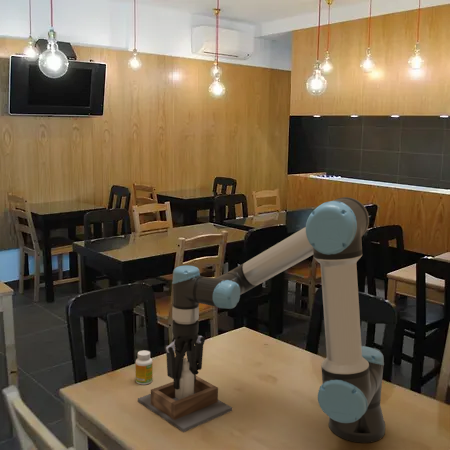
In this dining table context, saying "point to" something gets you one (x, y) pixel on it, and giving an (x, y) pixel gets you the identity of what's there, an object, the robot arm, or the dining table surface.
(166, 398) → the bottle holder
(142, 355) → the supplement bottle
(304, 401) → the dining table surface
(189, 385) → the eye dropper bottle
